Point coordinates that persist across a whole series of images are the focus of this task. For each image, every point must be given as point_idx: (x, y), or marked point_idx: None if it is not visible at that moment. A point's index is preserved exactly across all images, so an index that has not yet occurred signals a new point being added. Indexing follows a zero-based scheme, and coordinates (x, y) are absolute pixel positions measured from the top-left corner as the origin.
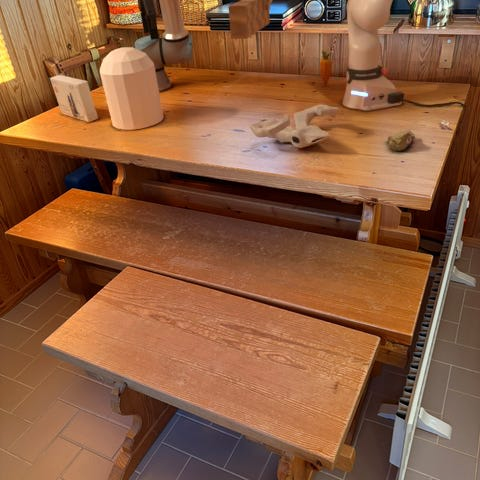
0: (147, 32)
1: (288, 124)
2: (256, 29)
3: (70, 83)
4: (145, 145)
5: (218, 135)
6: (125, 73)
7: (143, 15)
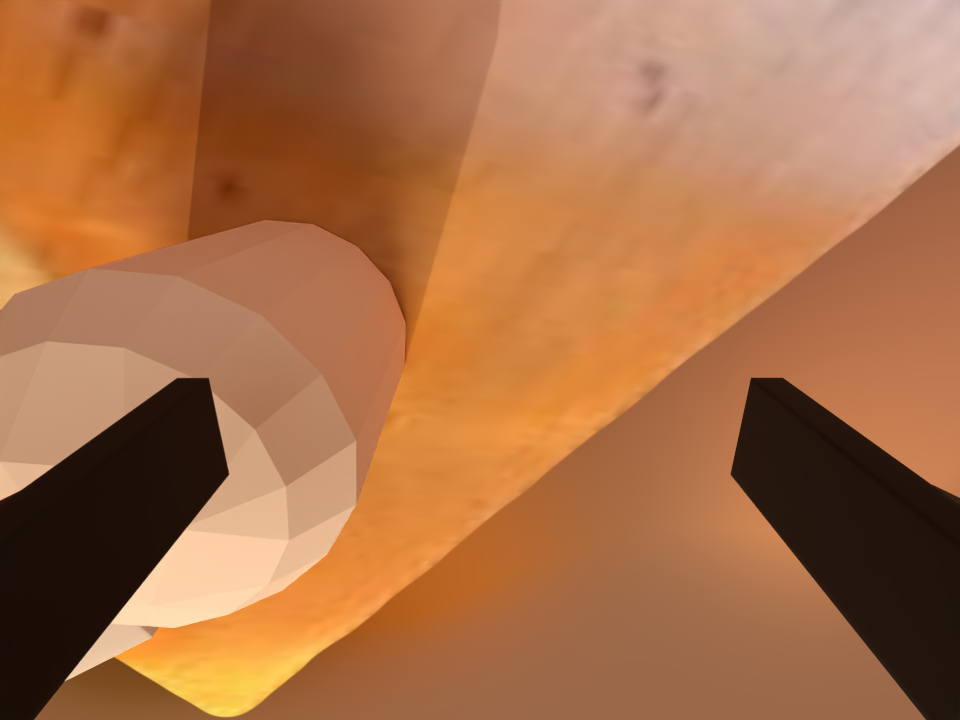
0: (219, 437)
1: None
2: None
3: (107, 659)
4: (592, 351)
5: (684, 27)
6: (352, 489)
7: (46, 643)
